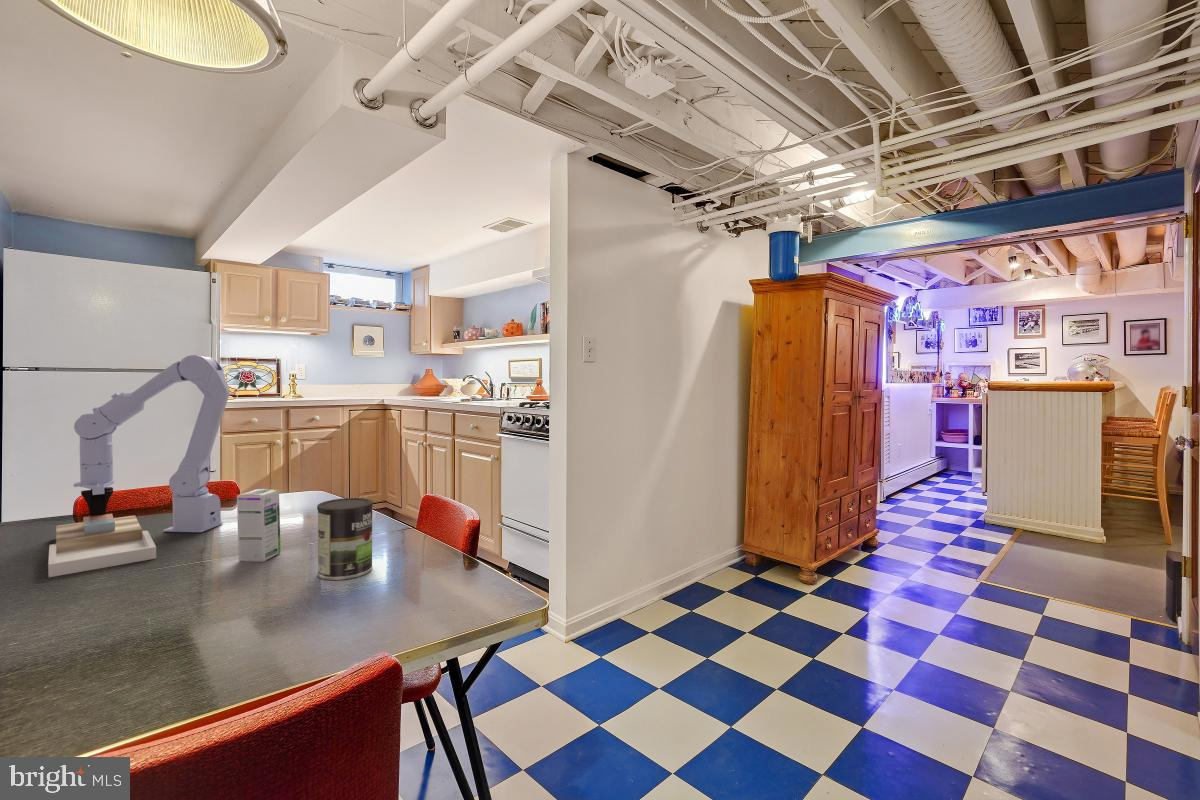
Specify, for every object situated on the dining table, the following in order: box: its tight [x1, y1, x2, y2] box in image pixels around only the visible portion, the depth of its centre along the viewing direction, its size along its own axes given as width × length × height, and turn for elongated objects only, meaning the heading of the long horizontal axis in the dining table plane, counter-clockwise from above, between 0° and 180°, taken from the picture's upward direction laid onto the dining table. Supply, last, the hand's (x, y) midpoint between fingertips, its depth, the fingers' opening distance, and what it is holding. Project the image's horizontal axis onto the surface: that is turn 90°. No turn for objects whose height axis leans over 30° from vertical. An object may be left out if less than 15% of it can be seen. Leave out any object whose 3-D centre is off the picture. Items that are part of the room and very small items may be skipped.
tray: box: [47, 530, 157, 578], centre depth 113 cm, size 16×16×2 cm
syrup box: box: [236, 488, 282, 563], centre depth 115 cm, size 6×6×14 cm
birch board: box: [55, 515, 143, 553], centre depth 125 cm, size 16×14×3 cm
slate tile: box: [83, 517, 115, 535], centre depth 122 cm, size 5×5×2 cm
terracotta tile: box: [82, 513, 114, 522], centre depth 126 cm, size 5×5×2 cm
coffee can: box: [316, 497, 374, 581], centre depth 109 cm, size 10×10×14 cm
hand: (97, 519), depth 128 cm, fingers closed
